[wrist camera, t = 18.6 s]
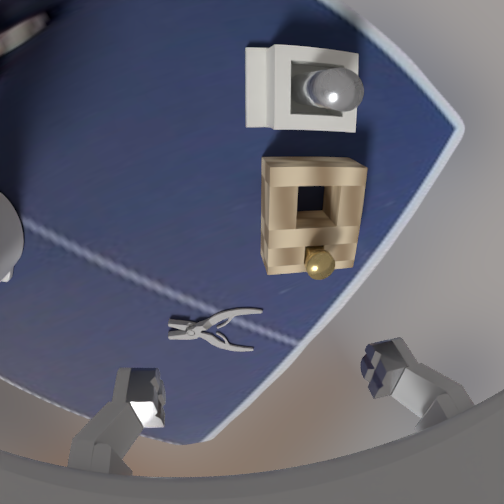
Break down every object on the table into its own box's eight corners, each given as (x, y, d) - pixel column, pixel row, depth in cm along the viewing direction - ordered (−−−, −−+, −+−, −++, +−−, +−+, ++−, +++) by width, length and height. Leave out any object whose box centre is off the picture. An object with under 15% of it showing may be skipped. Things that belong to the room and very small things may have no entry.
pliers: (253, 355, 54) (168, 351, 51) (252, 348, 55) (168, 345, 52) (263, 313, 49) (167, 308, 46) (261, 307, 50) (168, 302, 47)
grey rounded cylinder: (287, 103, 34) (320, 109, 24) (288, 72, 32) (321, 65, 22) (319, 105, 35) (362, 113, 24) (320, 74, 33) (364, 71, 22)
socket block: (260, 253, 45) (267, 274, 40) (261, 156, 38) (270, 167, 33) (338, 248, 46) (352, 267, 42) (348, 157, 40) (367, 168, 35)
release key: (290, 248, 45) (306, 280, 38) (291, 225, 43) (308, 255, 36) (313, 247, 45) (333, 278, 38) (316, 224, 44) (337, 253, 36)
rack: (245, 126, 36) (252, 132, 31) (245, 48, 31) (252, 40, 26) (351, 129, 38) (372, 136, 32) (353, 57, 33) (376, 54, 28)
